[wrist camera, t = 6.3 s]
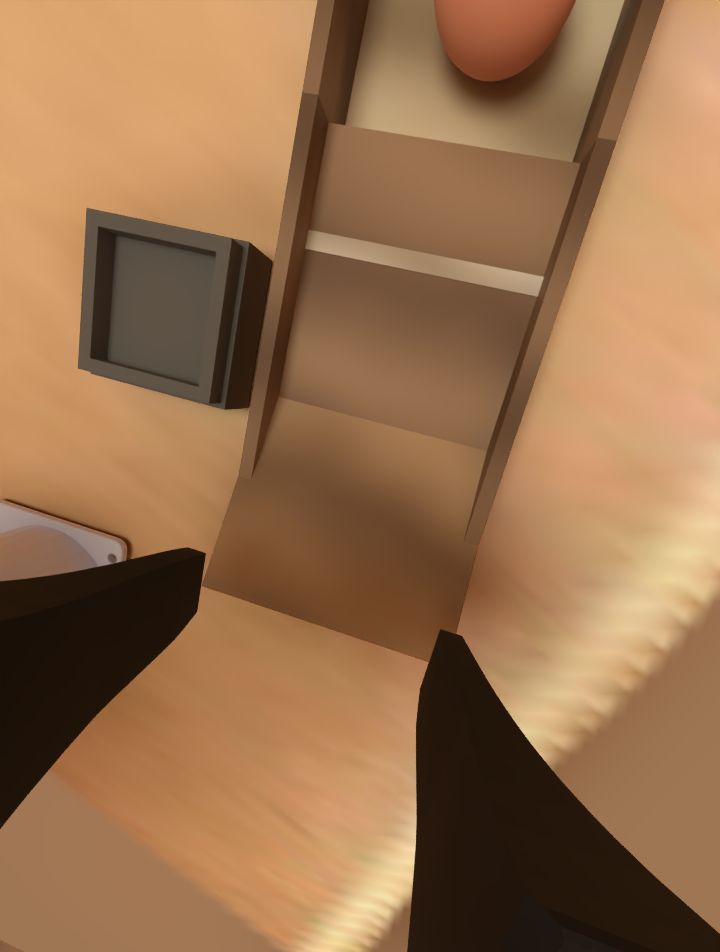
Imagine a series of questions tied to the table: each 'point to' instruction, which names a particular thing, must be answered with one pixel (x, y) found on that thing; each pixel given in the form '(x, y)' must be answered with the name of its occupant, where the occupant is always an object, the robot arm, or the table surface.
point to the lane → (413, 308)
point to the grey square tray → (171, 309)
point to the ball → (498, 33)
